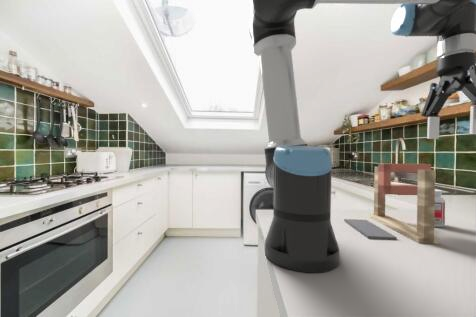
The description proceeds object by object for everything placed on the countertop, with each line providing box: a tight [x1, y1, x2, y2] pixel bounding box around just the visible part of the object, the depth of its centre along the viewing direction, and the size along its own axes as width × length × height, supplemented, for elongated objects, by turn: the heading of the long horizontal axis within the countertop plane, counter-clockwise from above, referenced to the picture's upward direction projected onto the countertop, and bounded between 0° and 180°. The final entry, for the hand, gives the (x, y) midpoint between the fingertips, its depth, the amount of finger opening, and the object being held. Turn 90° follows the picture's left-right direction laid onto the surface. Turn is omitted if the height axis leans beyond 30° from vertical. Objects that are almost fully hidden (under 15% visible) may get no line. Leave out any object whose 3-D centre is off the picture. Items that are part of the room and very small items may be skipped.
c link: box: [377, 162, 432, 196], centre depth 66 cm, size 13×3×9 cm, turn 85°
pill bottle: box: [434, 189, 446, 228], centre depth 70 cm, size 6×6×11 cm
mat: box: [343, 218, 397, 241], centre depth 65 cm, size 7×16×1 cm, turn 175°
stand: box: [369, 166, 441, 245], centre depth 66 cm, size 5×23×18 cm, turn 175°
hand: (452, 136), depth 59 cm, fingers open, 13 cm apart
